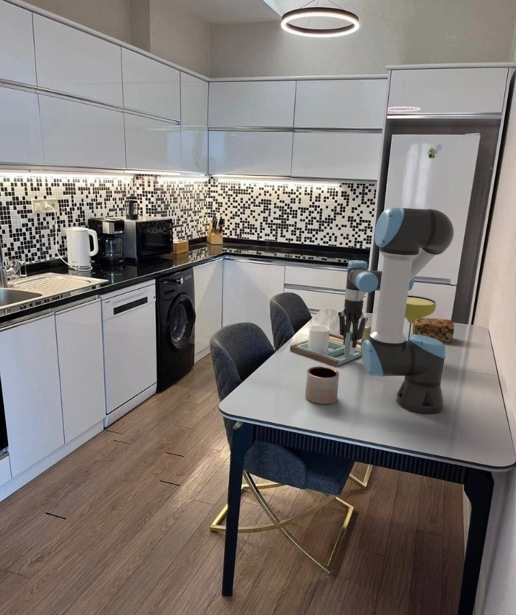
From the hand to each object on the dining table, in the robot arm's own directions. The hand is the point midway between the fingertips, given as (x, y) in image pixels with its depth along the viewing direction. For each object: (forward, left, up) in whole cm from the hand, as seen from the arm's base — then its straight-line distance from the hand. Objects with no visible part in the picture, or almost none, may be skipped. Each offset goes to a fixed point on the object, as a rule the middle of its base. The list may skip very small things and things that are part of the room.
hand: (349, 353), depth 198 cm
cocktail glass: (+25, -13, -3) cm, 29 cm away
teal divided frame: (0, +10, -3) cm, 11 cm away
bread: (+59, -10, -3) cm, 60 cm away
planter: (-39, -14, -3) cm, 41 cm away
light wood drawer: (+14, +11, -3) cm, 18 cm away
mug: (0, +15, -3) cm, 15 cm away
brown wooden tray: (+4, +12, -3) cm, 13 cm away
